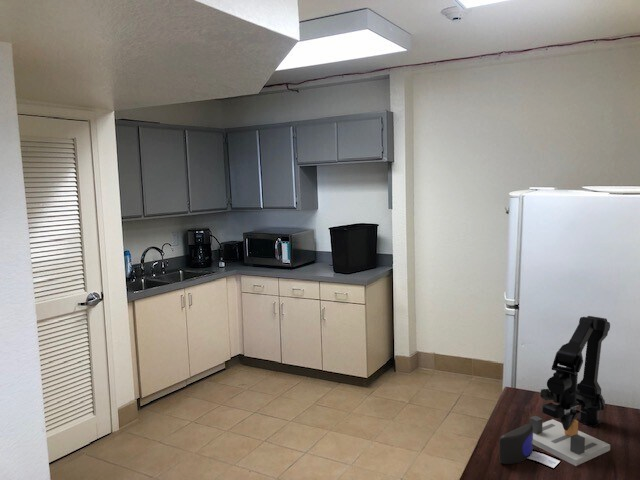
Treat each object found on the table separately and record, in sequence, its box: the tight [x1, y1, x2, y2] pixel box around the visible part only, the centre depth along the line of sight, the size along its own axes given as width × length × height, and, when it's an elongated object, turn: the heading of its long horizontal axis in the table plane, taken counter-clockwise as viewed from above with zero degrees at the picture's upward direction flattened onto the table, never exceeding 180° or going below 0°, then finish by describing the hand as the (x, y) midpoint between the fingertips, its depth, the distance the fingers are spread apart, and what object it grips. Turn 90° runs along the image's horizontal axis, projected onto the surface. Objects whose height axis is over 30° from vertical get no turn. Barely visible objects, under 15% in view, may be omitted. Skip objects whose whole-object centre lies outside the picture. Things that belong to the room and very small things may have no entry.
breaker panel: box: [529, 415, 611, 467], centre depth 179 cm, size 18×22×7 cm
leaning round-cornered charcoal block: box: [498, 423, 534, 465], centre depth 171 cm, size 16×5×9 cm, turn 124°
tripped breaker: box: [565, 419, 579, 436], centre depth 181 cm, size 3×3×5 cm
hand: (565, 429), depth 180 cm, fingers closed
